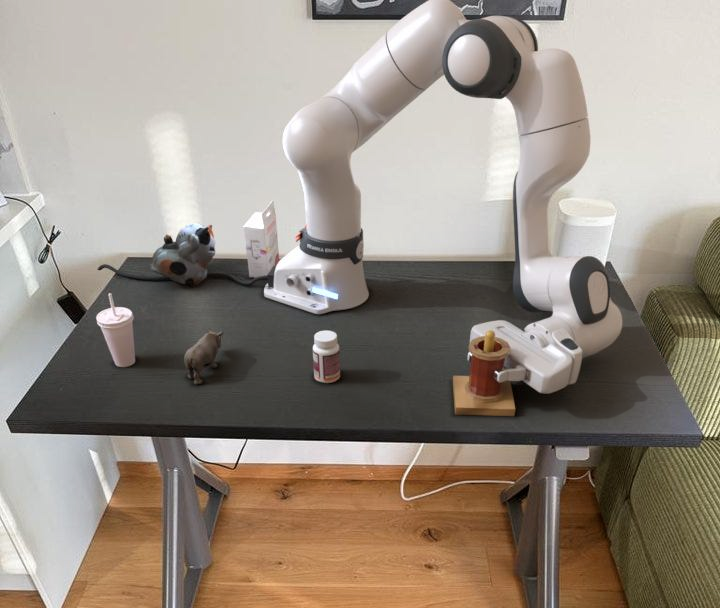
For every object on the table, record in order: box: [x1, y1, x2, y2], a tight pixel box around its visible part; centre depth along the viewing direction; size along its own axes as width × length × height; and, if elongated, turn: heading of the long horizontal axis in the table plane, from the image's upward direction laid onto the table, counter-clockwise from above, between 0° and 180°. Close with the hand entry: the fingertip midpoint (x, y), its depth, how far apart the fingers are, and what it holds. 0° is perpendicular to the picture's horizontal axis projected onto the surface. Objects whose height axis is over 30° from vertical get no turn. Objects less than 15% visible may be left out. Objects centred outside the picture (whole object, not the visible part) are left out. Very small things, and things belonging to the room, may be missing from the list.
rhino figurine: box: [183, 327, 224, 385], centre depth 139 cm, size 4×14×6 cm, turn 164°
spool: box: [464, 336, 510, 402], centre depth 129 cm, size 7×7×9 cm
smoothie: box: [95, 292, 136, 368], centre depth 138 cm, size 6×6×14 cm
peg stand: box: [452, 330, 516, 417], centre depth 128 cm, size 10×10×13 cm
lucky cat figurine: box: [147, 223, 217, 287], centre depth 167 cm, size 15×12×14 cm
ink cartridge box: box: [242, 200, 280, 279], centre depth 168 cm, size 9×5×15 cm, turn 168°
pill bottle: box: [312, 330, 341, 384], centre depth 136 cm, size 5×5×8 cm
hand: (482, 367), depth 128 cm, fingers closed on spool, 5 cm apart
